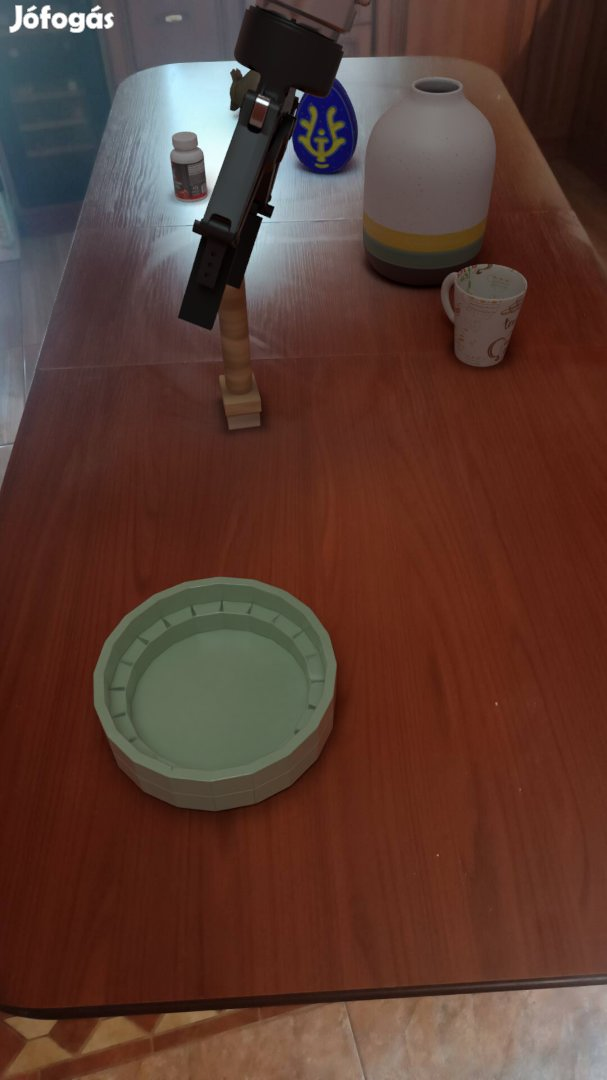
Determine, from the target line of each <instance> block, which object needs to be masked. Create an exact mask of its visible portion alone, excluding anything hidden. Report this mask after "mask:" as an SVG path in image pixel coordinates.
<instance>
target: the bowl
mask: <svg viewBox="0 0 607 1080" xmlns="http://www.w3.org/2000/svg"><path fill="white" fill-rule="evenodd" d="M101 648H102V649H101V652H100V653H99V656H98V660H97V663H96V665H95V668H94V670H93V675H92V676H93V678H92V679H93V707H94V709H95V712H96V715H97V717H98V720H99V723H100V726H101V728H102V730H103V733H104V736H105V739H106V741H107V743H108V746H109V748H110V750H111V753H112V755H113V757H114V760H115V761H116V764H117V766H118V767H119V769H120V770H121V771H122V772H123V773H124V774H125V775H126V776H127V777H128V778H129V779H130V780H131V781H132V782H133V783H134V784H135V785H136V786H137V787H138V788H139V789H140V790H141V791H142V792H144V793H146V794H147V795H150V796H152V797H153V798H154V797H155V798H156V799H159V800H160V801H162V802H165V803H167V804H170V805H172V806H173V807H176V808H182V809H190V810H191V809H192V810H199V811H200V810H201V811H211V812H219V811H224V810H225V811H226V810H230V809H234V808H235V809H236V808H241V807H245V806H246V807H247V806H250V805H256V804H258V803H260V802H262V801H264V800H266V799H268V798H269V797H272V796H273V795H275V794H278V793H279V792H281V791H283V790H285V789H286V788H289V787H291V786H292V785H293V784H295V782H296V781H297V780H298V779H299V778H300V777H301V776H302V775H304V773H305V772H307V770H308V769H309V768H310V767H311V766H312V765H314V763H315V762H316V761H317V760H318V759H319V756H320V755H321V753H322V751H323V749H324V746H325V745H326V742H327V741H328V739H329V736H330V734H331V732H332V731H333V728H334V719H335V711H336V710H335V709H336V703H337V677H338V676H337V674H338V663H337V659H336V655H335V652H334V649H333V648H334V647H333V644H332V641H331V637H330V634H329V632H328V631H327V630H326V628H325V627H324V625H323V624H322V622H321V621H320V620H319V618H318V617H317V615H316V614H315V613H314V612H313V610H312V609H311V608H310V607H309V606H308V605H306V604H305V603H304V602H302V601H301V600H300V599H298V598H297V597H295V596H293V594H291V593H289V591H287V590H284V589H282V588H279V587H277V586H274V585H271V584H269V583H265V582H262V581H259V580H256V579H254V578H244V577H243V578H241V577H231V576H229V577H228V576H214V577H206V578H201V579H194V580H187V581H184V582H183V581H182V583H179V584H175V585H173V586H172V587H169V588H166V589H164V590H162V591H159V592H156V593H154V594H153V595H152V596H150V597H148V598H147V599H146V600H144V601H143V602H142V603H140V604H139V605H138V606H136V607H135V608H134V609H132V610H131V611H130V612H128V613H127V614H126V615H124V616H123V618H122V619H121V621H119V623H118V624H117V625H116V626H115V628H114V630H112V632H111V633H110V634H109V635H108V637H107V639H105V641H104V643H103V646H102V647H101Z"/></svg>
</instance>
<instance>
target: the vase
mask: <svg viewBox="0 0 607 1080" xmlns="http://www.w3.org/2000/svg"><path fill="white" fill-rule="evenodd" d="M364 158H365V159H364V177H363V201H362V203H363V205H362V243H363V248H364V252H365V256H366V258H367V260H368V262H369V263H370V265H371V266H372V268H373V269H374V270H375V271H376V272H378V274H380V275H381V276H383V277H386V279H389V280H391V281H394V282H397V283H400V284H405V285H409V286H420V287H421V286H425V287H426V286H437V285H442V284H443V282H444V280H445V278H446V277H447V276H448V275H449V274H451V273H453V272H457V273H459V272H460V271H461V270H463V269H464V268H467V267H469V266H473V265H475V262H476V261H477V259H478V257H479V255H480V252H481V250H482V246H483V243H484V238H485V234H486V233H485V232H486V226H487V222H488V216H489V209H490V204H491V203H490V202H491V195H492V191H493V190H492V189H493V182H494V177H495V169H496V162H497V161H496V160H497V144H496V137H495V134H494V129H493V128H492V125H491V123H490V122H489V120H488V119H487V118H486V116H485V114H484V113H482V112H481V111H480V109H479V108H477V106H475V105H474V104H473V103H472V102H470V100H468V99H467V97H466V96H465V94H464V85H463V83H462V82H461V81H459V80H458V79H454V78H450V77H445V76H427V77H422V78H418V79H416V80H414V81H412V82H411V84H410V88H409V92H408V94H407V95H405V96H404V97H402V99H400V100H398V101H397V102H396V103H395V104H393V105H392V106H390V107H389V108H388V109H387V110H386V111H385V112H383V114H381V116H380V117H379V118H378V119H377V121H376V122H375V123H374V125H373V127H372V130H371V131H370V135H369V137H368V140H367V144H366V150H365V156H364Z"/></svg>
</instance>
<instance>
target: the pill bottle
mask: <svg viewBox="0 0 607 1080" xmlns="http://www.w3.org/2000/svg"><path fill="white" fill-rule="evenodd" d="M171 145H172V147H173V149H172V150H171V151H170V153H169V159H170V160H169V161H170V167H171V175H172V183H173V188H174V189H173V190H174V196H175V197H174V198H175V199H176V200H177V201H178V202H181V203H187V204H193V203H199V202H201V201H202V202H203V201H204V200H206V199H207V198H208V185H207V184H208V183H207V175H206V165H205V154H204V151H203V150H202V149H201V148H200V147H198V146H199V141H198V135H197V133H195V132H193V131H178V132H176V133H173V134H172V136H171Z"/></svg>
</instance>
